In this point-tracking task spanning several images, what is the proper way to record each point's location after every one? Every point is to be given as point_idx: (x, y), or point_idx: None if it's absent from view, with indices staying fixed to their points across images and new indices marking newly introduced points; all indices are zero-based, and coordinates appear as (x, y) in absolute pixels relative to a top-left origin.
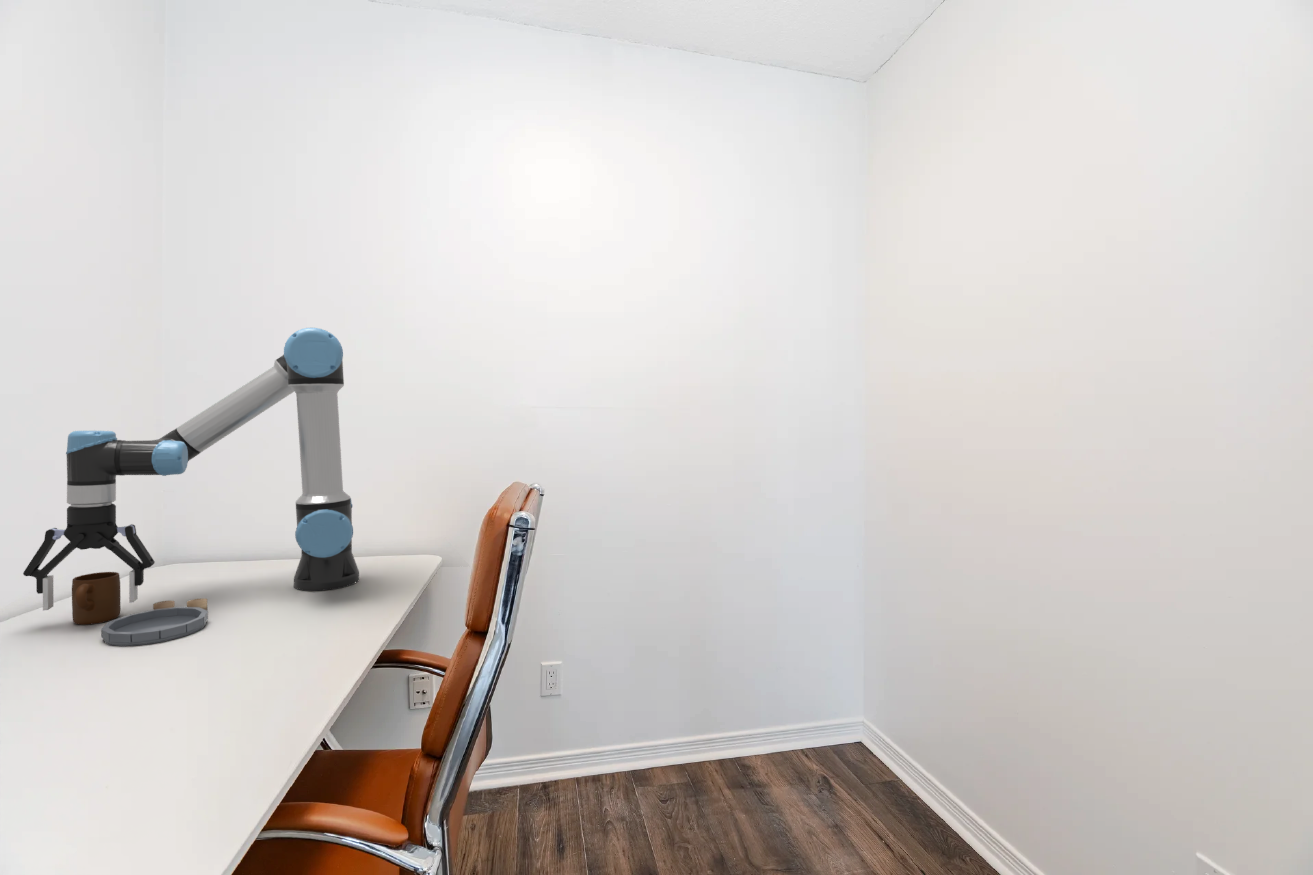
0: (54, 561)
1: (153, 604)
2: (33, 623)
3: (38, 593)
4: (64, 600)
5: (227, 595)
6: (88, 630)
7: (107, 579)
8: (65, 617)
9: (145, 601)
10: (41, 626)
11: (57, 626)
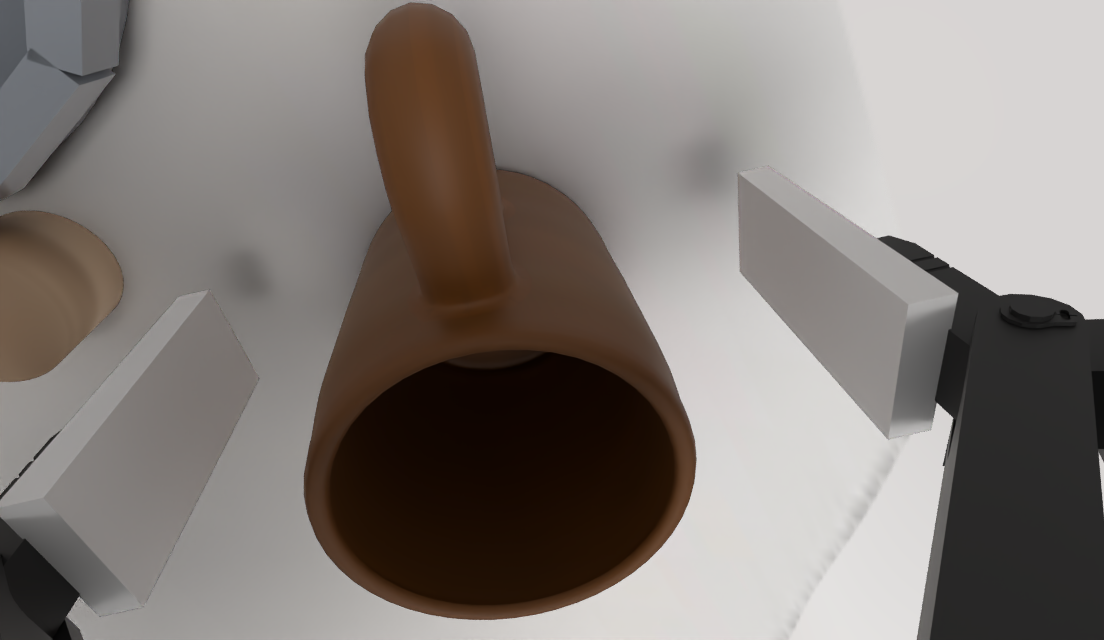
0: (1022, 502)
1: (44, 295)
2: None
3: (884, 237)
4: (803, 575)
5: None
6: None
7: (323, 410)
8: (690, 346)
9: None
10: None
11: (654, 179)
